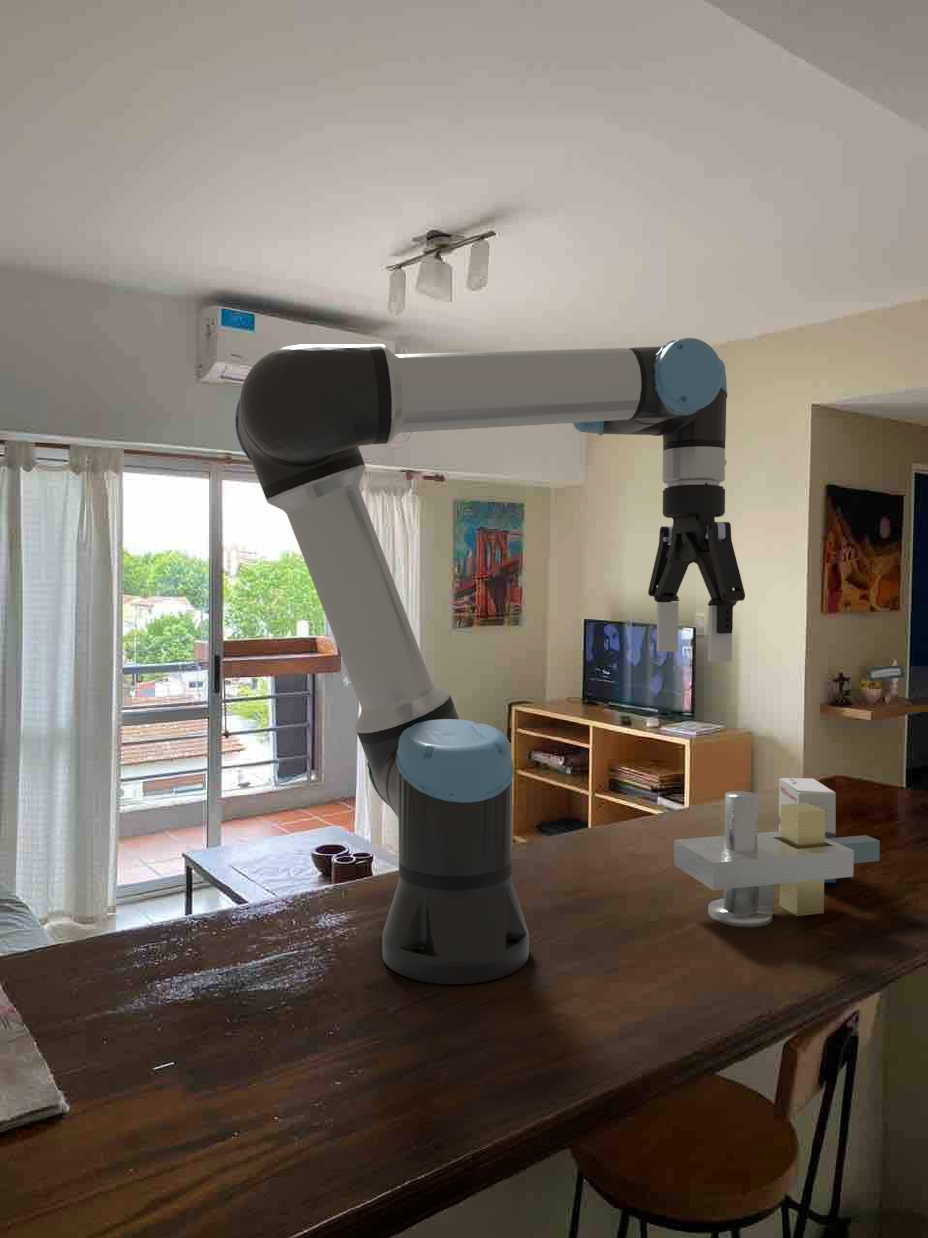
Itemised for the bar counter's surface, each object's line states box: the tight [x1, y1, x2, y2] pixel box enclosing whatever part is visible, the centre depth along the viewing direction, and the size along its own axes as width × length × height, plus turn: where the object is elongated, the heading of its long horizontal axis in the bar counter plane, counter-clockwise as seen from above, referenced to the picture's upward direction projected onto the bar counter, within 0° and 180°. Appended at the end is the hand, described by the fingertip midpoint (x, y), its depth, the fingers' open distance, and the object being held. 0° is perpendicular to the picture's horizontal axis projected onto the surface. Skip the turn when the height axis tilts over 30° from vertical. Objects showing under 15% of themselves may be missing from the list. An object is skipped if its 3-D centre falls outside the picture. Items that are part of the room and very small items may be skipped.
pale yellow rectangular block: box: [778, 803, 825, 917], centre depth 109 cm, size 4×4×12 cm
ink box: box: [778, 777, 837, 884], centre depth 122 cm, size 9×5×12 cm, turn 179°
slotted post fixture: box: [673, 790, 881, 928], centre depth 108 cm, size 24×9×14 cm, turn 104°
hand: (692, 656), depth 117 cm, fingers open, 13 cm apart
